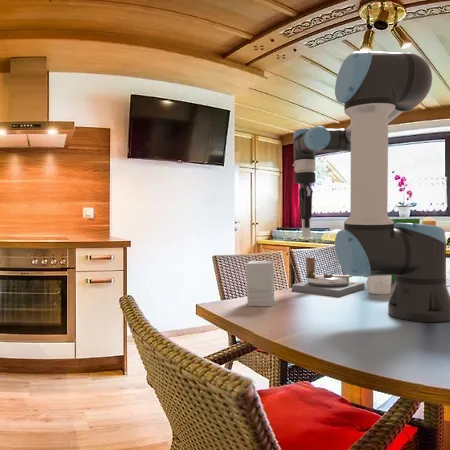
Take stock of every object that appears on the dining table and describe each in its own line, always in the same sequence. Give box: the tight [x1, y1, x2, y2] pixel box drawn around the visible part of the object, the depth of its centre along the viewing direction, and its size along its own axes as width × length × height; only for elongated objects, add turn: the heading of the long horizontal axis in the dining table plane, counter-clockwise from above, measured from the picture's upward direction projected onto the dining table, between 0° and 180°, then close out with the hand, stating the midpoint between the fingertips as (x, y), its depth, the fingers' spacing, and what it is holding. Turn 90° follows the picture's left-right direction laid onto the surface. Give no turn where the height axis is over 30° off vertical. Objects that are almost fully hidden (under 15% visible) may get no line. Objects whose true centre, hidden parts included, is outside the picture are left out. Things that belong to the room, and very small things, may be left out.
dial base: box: [291, 280, 366, 298], centre depth 136 cm, size 18×18×2 cm
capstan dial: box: [305, 256, 353, 286], centre depth 136 cm, size 16×14×9 cm
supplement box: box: [245, 260, 275, 307], centre depth 116 cm, size 7×7×13 cm
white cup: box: [366, 275, 392, 295], centre depth 129 cm, size 8×8×10 cm
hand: (306, 236), depth 142 cm, fingers closed
